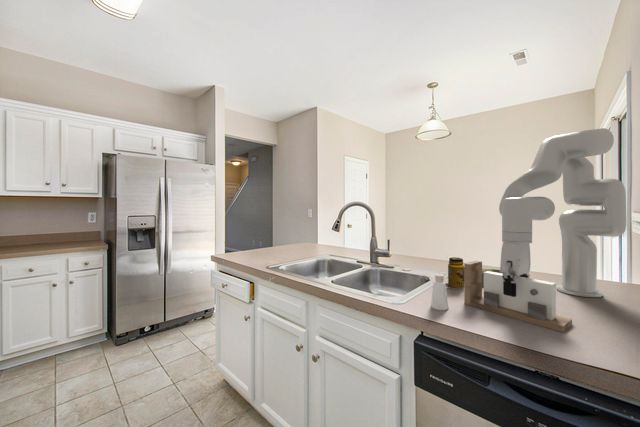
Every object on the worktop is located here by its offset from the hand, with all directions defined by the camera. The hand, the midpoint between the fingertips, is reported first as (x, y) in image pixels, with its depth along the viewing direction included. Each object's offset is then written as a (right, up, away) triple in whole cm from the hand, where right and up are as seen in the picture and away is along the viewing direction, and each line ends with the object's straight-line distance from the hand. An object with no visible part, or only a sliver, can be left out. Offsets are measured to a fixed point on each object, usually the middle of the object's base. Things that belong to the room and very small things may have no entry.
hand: (516, 292), depth 83 cm
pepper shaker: (-21, -7, +7) cm, 23 cm away
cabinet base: (0, -7, 0) cm, 7 cm away
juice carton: (+12, -6, +34) cm, 36 cm away
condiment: (-5, -6, +29) cm, 30 cm away
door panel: (0, -5, 0) cm, 5 cm away
